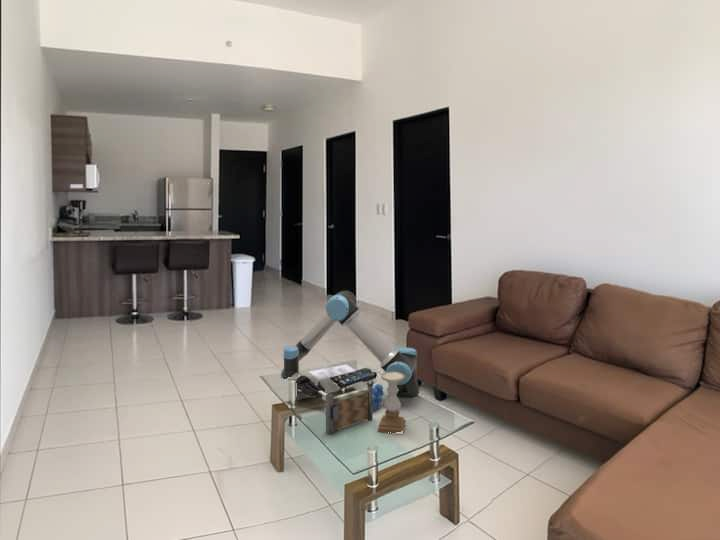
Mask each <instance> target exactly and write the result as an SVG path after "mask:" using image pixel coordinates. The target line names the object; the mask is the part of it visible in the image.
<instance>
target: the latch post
mask: <svg viewBox="0 0 720 540" xmlns="http://www.w3.org/2000/svg"><path fill="white" fill-rule="evenodd" d="M326 394H327V395H326V401H325V433H326V434H328V435H331V434H332V435H333V434H335V433H334V432H335V431H334V421H337V420H339V406H334V397H335V395H334V394H332V393H326Z"/></svg>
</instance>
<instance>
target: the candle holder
mask: <svg viewBox="0 0 720 540" xmlns="http://www.w3.org/2000/svg"><path fill="white" fill-rule="evenodd" d="M380 378H381V380H383V381H385V382H387V384H388V387H387V388H386V391H387V393H388V396H387V398H386V399H385V401H384V403H383V407H384V409H386V410H385V412H384V414H385V415H383V416H382V417H381V419H380V422H379V424H378V426H377V432H378V433H383V434H392V433H396V432H401V431H403V430H404V431H405V429H404V426H405V427H406V425H405V423H406V424H407V421H406V419H405V417H404V416H400V411H399V410H400V409H401V407H402V404H401V401H400V399H399V398H398V396H397V395H396V394H397V392H398V391H399V389H398V388H397V383H398V382H399V381H402V380H404V378H405V376H404V374H402V373H399V372H385V371H384V372H383V373H382V374H381V375H380ZM388 432H389V433H388ZM390 432H391V433H390Z"/></svg>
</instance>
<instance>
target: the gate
mask: <svg viewBox="0 0 720 540" xmlns="http://www.w3.org/2000/svg"><path fill="white" fill-rule="evenodd" d="M368 392H369V389H367V388H366V387H364V388H360V389H356V390H352V391H350V392H345V393H343V394H340V395H336V396H335V395H334V406H339V420H337V421H334V432H335V431H338V430H339V429H342V428H344V427H347V426H351V425H353V424H357V423H360V422H363V421H366V420H367V419H368ZM367 421H368V420H367Z"/></svg>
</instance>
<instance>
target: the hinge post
mask: <svg viewBox="0 0 720 540" xmlns="http://www.w3.org/2000/svg"><path fill="white" fill-rule="evenodd" d="M374 384H375V382H374V380H367V381H366V385H367V386H366V387H367V389H369V392H368V419H367V421H370V422H371V421H373V414H374V413H373V412H374V411H373V388H374Z"/></svg>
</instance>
